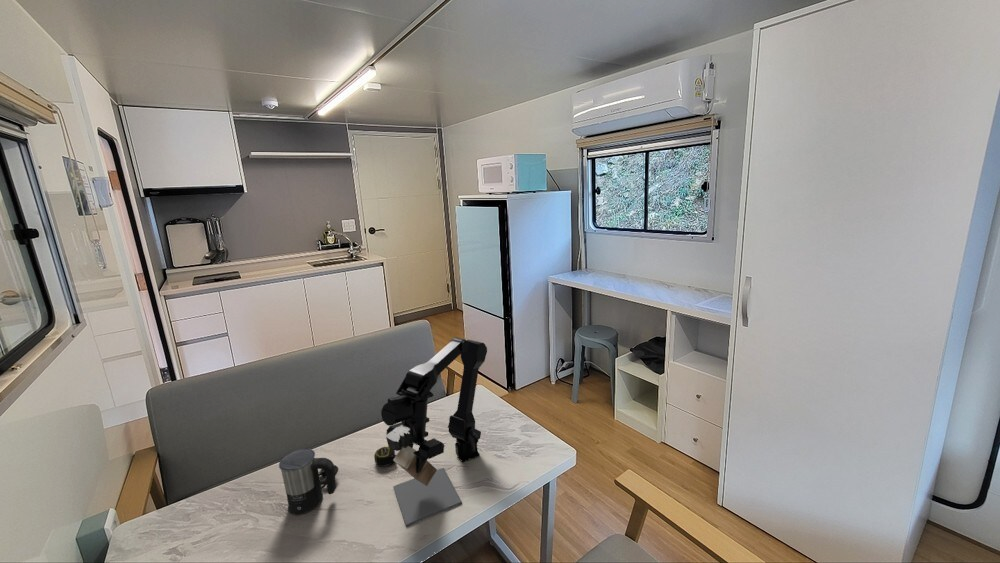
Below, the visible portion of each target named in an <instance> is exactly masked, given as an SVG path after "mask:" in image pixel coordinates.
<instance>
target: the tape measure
mask: <svg viewBox="0 0 1000 563" xmlns="http://www.w3.org/2000/svg"><path fill="white" fill-rule="evenodd" d="M373 457H374V463H375V464H376V465H377V466H379V467H386V466H389V465H391V464H394V463H396V462H395V461H393V460H394V458H395V457H396V451H395V450H394V449H393V448H391V447H389V446H383V447H380V448H378V449H377V450H376V451H375V452H374V455H373Z"/></svg>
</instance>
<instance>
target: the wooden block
mask: <svg viewBox="0 0 1000 563" xmlns="http://www.w3.org/2000/svg"><path fill="white" fill-rule="evenodd" d="M416 451H417V450H416V449H415V448H411V447H409V446H408V447H406V448H402V449H401V450H399V451H397V454H395V456H396V457H395V458H394V460H393V461H395V462H394V463H395V464H397V465H398V466H399V467H400V468H402V469H403V470H404V471H405V472H406V473H407V474H409V475H410V476H411V477H412V478H413V479H414V478H415V479H416V480H418V481H419V482H421V483H423V484H424V485H426V486H427V485H428V484H429V482H430V481H431V479H432V477H433V476H434V474H435V472H436V471H437V470H438V469H437V468H436V467H434V465H432V464H431V463H430V461H429V460H427V461H426V463H425V465H424V466H423V468H422V470H421V472H420V473H417V472H416V455H415V454H414V453H413V452H416Z"/></svg>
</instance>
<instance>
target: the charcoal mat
mask: <svg viewBox="0 0 1000 563" xmlns="http://www.w3.org/2000/svg"><path fill="white" fill-rule="evenodd" d="M392 488H393V490H394V495H395V497H396V500H397V502H398V503H397V504H398V506H399V509H400V512H401V515H402V519H403V521H404V524H405V525H404V526H405V527H409V526H412V525H413V524H417V523H419V522H421V521H424V520H425V519H428V518H431V517H432V516H435V515H437V514H440V513H442V512H445V511H447V510H450V509H452V508H454V507H456V506H459V505H461V504H462V503H463V502H462V501H463V500H462V499H461V497H460V495H459V494H458V491H457V490H456V488H455V486H454V484H453V482H452V480H451V478H450V477H449V475H448V473H447V471H446V470H445V468H444V467H442V468H439V469H437V471H436V472H435V474H434V476H433V477H432V479H431V481H430V482H429V484H428V485H427V486H426V485H424V484H423V483H421V482H419V481H418V480H416V479H415V478H414V477H413V478H412V479H409V480H406V481H403V482H401V483H398V484H395V485H393V486H392Z"/></svg>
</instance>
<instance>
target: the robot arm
mask: <svg viewBox="0 0 1000 563" xmlns="http://www.w3.org/2000/svg"><path fill="white" fill-rule="evenodd" d="M487 354H488V347H487V345H486V344H485V342H481V341H478V340H477V341H476V340H472V339H465V338H461V337H460V338H459V337H456V336H455V337H453V338H451V340H450V341H449V343H447V344H446V345H445V346H444V347H442V349H440V350H439V351H438V352H437V353H436V354H435V355H434V356H433V357H432V358H430V359H429V360H428V361H426V362H424V363H421V364H417V365H416V366H414V367H412V368H411V369H409V370H408V372H407V373H406V374H405V377H404V378H403V380H402V382H401V384H400V386H399V387H398V389H397V390H396V395H397V396H395V397H388V398H387V403H384V405H383V406H382V407H381V408H382V409H381V412H380V413H381V415H380V416H381V418H382V421H383V423H384V424H385V425H386V426H388V428H387V429H386V434H385V435H386V436H385V439H386V442H387V447H391V448H393V449H394V450H395V452H399V451H400V450H401V449H402V448H406V447H408V446H409V447H411V448H413V447H414V445H415V446H418V450H416V452H413V453H414V454H415V455H416V472H417V473H420V472H421V470H422V468H423V466H424V465H425V463H426V461H428V460H429V459H432V458H435V457H436V456H439V455H441V454H444V453H445V452H444V451H445V444H444V443H443V442H442V441H440V440H438V439H436V438H431V439H429V440H427V439H425V438H426V437H429V432H428V431H427V430H426V429H427V427H426V426H427V423H429V422H430V417H428V416H427V414H428V405H429V399H430V398H432V397H434V393H433V392H432V391H431V390H432V388H433V387H434V386H435V385H436V383H437V382H438V378H439V375H441V373H442V372H443V371H444V370H445V369H447V368H448V367H449V366H450V365H451V363H453V362H454V361H455V360H456V359H457V358H459V356H460V360H461V363H462V365H463V369H462V370H463V371H462V376H461V384H460V389H459V390H460V391H459V396H458V397H459V398H458V402H457V408H456V411H455V412H454V413H453V415H450V416H449V418H448V420H449V422H448V426H447V428H448V433H449V435H450V436H451V437H452V438H453V439H456V440H455V441H456V442H455V443H454V446H455V454H456V456H457V458H459V460H460V462H461V463H464V462H467V461H470V460H472V459H475V458H479V457H480V456H481V455H480V453H479V451H478V443H479V440H480V438H481V435H482V431H480V430H478V429H477V428H476V419H475V417H474V414H473V409H474V403H475V396H476V395H475V393H476V389H477V382H478V374H479V370H480V367H482V365H484V364H483V363H485V360H486V357H487ZM408 389H409V390H408ZM413 449H414V448H413Z"/></svg>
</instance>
